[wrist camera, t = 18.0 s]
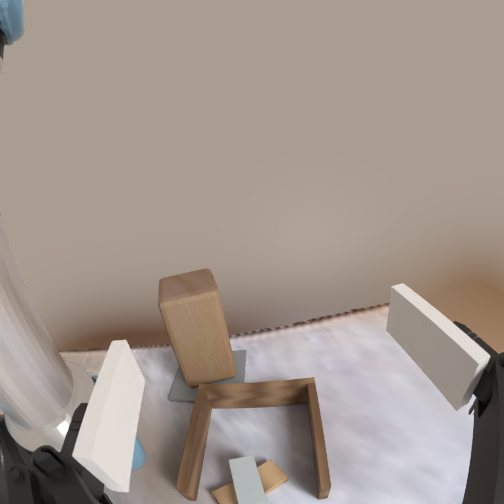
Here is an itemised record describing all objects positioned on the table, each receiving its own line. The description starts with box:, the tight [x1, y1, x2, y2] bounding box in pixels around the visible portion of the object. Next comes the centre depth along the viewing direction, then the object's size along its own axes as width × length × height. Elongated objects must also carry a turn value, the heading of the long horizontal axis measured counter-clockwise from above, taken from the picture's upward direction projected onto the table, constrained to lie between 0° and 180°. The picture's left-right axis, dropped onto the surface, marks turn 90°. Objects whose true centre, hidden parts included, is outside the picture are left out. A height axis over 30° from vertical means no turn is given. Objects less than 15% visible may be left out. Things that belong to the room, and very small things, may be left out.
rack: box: [176, 377, 331, 501], centre depth 35 cm, size 19×20×6 cm
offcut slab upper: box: [229, 455, 268, 504], centre depth 29 cm, size 8×4×2 cm, turn 12°
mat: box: [169, 350, 246, 402], centre depth 53 cm, size 14×14×1 cm
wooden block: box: [158, 269, 237, 387], centre depth 51 cm, size 10×10×20 cm
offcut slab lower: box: [211, 459, 288, 504], centre depth 29 cm, size 10×4×2 cm, turn 125°
